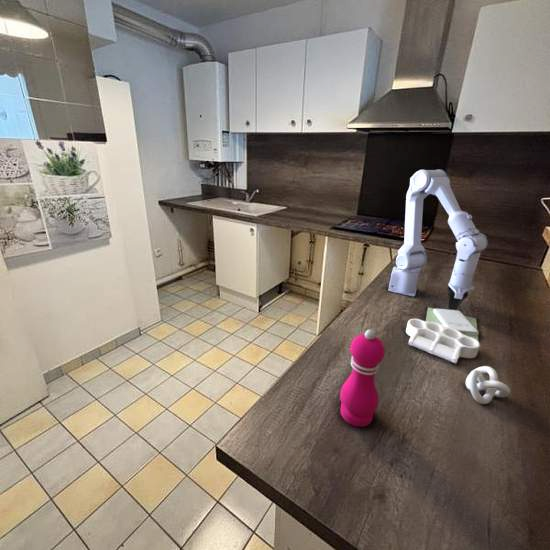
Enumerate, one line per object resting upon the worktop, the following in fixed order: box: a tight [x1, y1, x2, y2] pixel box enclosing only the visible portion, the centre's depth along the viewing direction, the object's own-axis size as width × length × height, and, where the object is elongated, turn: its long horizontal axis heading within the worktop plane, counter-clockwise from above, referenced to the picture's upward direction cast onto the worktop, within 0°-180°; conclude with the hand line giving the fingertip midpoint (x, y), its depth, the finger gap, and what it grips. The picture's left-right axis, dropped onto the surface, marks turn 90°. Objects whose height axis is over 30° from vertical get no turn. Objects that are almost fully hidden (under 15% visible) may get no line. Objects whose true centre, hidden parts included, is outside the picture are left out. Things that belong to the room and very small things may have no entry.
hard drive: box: [433, 308, 480, 337], centre depth 90 cm, size 2×8×12 cm
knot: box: [465, 365, 511, 405], centre depth 63 cm, size 8×8×6 cm
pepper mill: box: [339, 329, 386, 428], centre depth 55 cm, size 7×7×20 cm
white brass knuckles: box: [405, 318, 481, 364], centre depth 80 cm, size 3×18×15 cm
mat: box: [425, 306, 479, 342], centre depth 91 cm, size 14×14×1 cm
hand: (452, 309), depth 96 cm, fingers closed
